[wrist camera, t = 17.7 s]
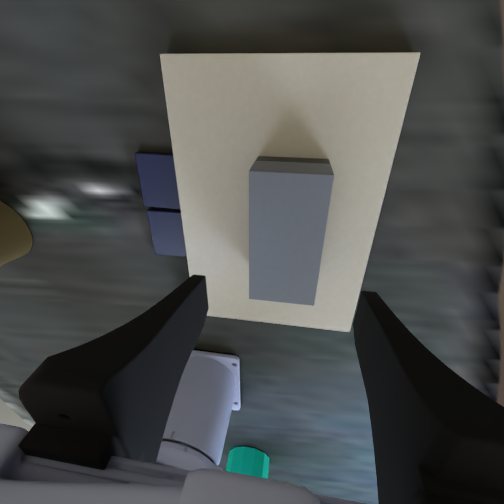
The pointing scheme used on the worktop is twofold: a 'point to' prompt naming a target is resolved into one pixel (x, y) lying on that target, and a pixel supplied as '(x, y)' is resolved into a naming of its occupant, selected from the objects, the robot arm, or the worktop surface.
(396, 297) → the worktop surface
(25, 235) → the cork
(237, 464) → the candle
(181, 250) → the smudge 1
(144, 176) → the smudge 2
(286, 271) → the eraser
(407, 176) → the worktop surface
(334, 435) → the worktop surface
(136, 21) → the worktop surface
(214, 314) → the memo board
